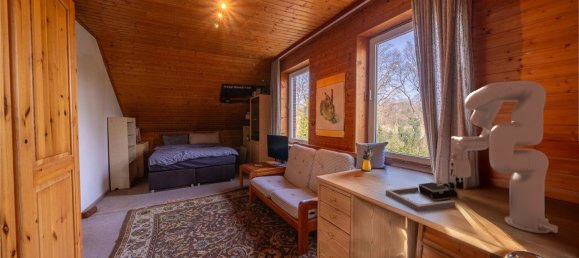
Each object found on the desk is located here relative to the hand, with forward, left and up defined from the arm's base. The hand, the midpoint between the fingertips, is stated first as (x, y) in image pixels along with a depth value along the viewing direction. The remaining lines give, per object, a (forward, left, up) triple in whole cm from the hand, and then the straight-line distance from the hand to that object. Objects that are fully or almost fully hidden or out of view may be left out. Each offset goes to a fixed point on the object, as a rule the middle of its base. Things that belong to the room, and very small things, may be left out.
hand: (459, 188), depth 124 cm
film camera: (+2, +12, -4) cm, 13 cm away
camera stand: (0, +28, -4) cm, 28 cm away
